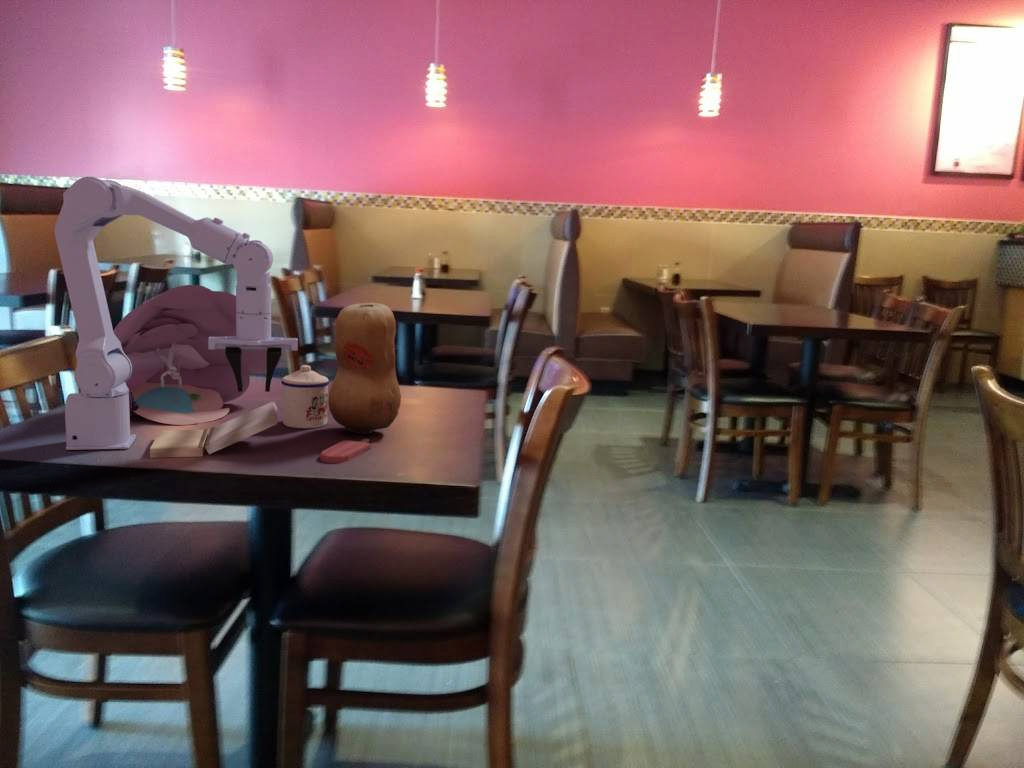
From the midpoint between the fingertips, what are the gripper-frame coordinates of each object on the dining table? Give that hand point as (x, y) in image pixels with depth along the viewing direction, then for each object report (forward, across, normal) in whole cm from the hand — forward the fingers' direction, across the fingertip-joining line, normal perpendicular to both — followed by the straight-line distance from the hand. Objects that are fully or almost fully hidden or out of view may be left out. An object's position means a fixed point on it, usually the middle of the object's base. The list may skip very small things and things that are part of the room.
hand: (254, 390), depth 136 cm
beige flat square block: (+7, -2, 0) cm, 7 cm away
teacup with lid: (+10, +10, +17) cm, 22 cm away
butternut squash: (+10, +20, +8) cm, 24 cm away
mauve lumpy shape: (+10, -15, +26) cm, 31 cm away
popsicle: (+11, +16, -5) cm, 20 cm away
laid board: (+10, -12, 0) cm, 16 cm away
